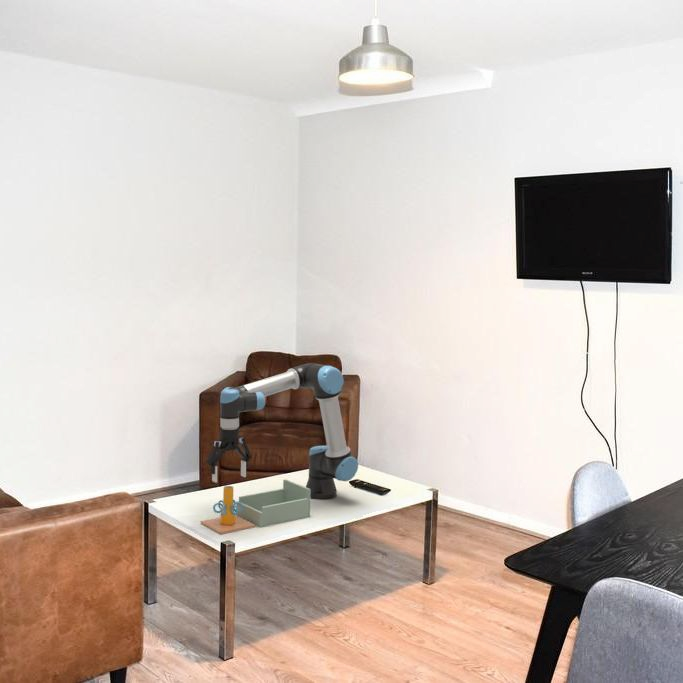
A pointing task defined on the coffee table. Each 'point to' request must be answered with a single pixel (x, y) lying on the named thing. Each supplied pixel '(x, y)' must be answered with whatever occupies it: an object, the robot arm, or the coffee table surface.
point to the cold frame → (276, 505)
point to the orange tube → (227, 507)
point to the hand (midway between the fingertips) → (229, 479)
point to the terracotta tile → (223, 529)
